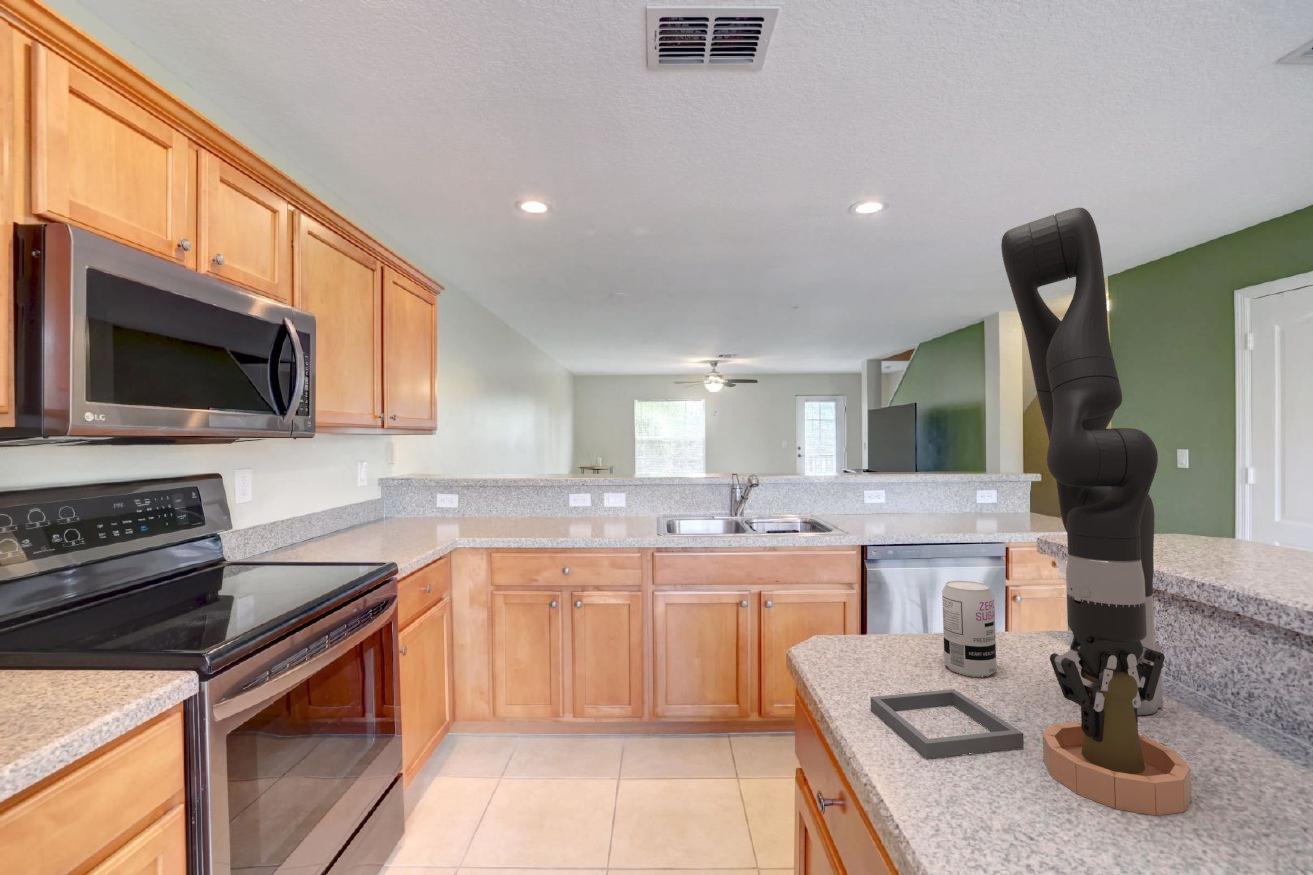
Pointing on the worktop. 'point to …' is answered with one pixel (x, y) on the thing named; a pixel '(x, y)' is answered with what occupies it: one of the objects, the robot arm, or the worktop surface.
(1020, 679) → the worktop surface
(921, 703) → the rectangular frame
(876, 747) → the worktop surface
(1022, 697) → the worktop surface
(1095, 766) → the bowl
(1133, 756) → the olive pestle
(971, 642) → the supplement can
